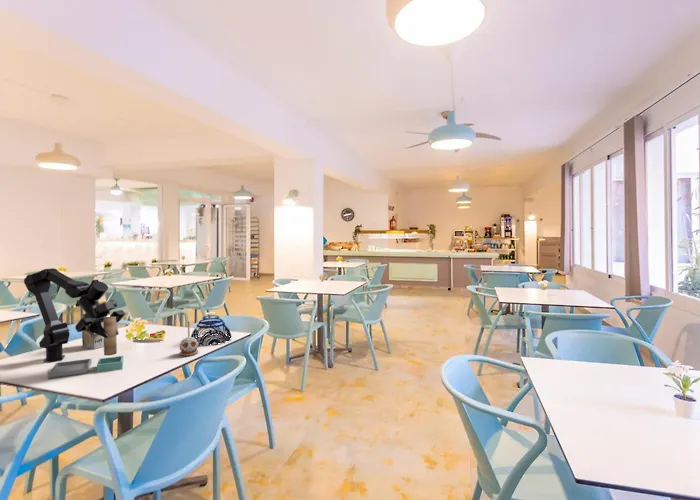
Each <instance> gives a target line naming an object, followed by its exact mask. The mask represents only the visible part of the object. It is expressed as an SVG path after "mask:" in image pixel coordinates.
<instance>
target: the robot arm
mask: <svg viewBox="0 0 700 500" xmlns="http://www.w3.org/2000/svg"><path fill="white" fill-rule="evenodd" d="M51 282H52V283H53V284H55V285H57V286H59V287H61V288H62V289H63V290H64V292H65V294H66V295H67V296H68V297H70V298H71V299H76V303H75V307H76V308H77V307H78V308H79V307H81V308H82V309H83V311H84V315H85V317H86V316H88V317H86V318H82V317H81V318H80V320H78V322H76V323H77V324H76V325H75V326H74V327H75V328H74V329H75V330H76V332H77V333H82V331H85V329H86V327H85V326H88V329H87V331H90V332H93V333H96V334H98V335H100V336H103V337H105V338H108V335H107V333H106V331H105V330H104V328H103V327H102V325H101V322H103V318H105V317H116V336H118V335H119V334H120V333H119V328H118V323H119V322H120V321H122V319H123V318H124V316H125V315H126V312H124V310H123V309H122V310H121V309H118V310H115V309H116V307H117V306H118V303H117V301H116V300H115V299H110V300H109V301H105V302H103V303H99V300H100V299H102V297H103V296H104V295H105V294H106V292H107V291H108V290H109V287H108V284H106V283H105V282H102V281H100V280H99V279H92V280H91V282H90V284H89V283H88V282H85V281H83V280H82V281H81V280H75V279H73V278H71V277H69V276H68V275H66V274H64V273H62V272H60V271H58V269H57V268H44V269H42V270H40V271H38V272H34V273H31V274H28V275H26V277H25V278H24V279H23V284H24V286H25V287H26V288H27V291H28V292H30V293H31V294H33V295H34V297H35V300H36V303H37V306H38V308H39V311H40V314H41V317H42V320H43V321H44V325H45V326H44V329H43V332H42V334H43V337H42V339H41V340H40V341H39V347H40V348H41V349H45V359H43V363H48V362H57V361H58V362H59V361H63V359H64V358H65V356H66V355H65V354H63V345H65V344H68V343H69V339H70V334H71V333H70V329H69V327H68V324H67V323H66V322H61V321H60V319H59V317H58V313H57V311H56V308H55V305H54V302H53V299H52V297H51V294H50V291H49V290H50V287H51V284H52V283H51ZM77 298H79V299H77ZM112 310H114V311H113V312H112V313H111V311H112ZM110 313H111V314H110Z"/></svg>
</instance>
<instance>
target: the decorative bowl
mask: <svg viewBox="0 0 700 500" xmlns="http://www.w3.org/2000/svg"><path fill="white" fill-rule="evenodd" d="M205 314H206V315H205V316H202V319H200V320H199V321H198V323H197V324H196V328H194V330H193V331H192V333H191V335H190V337H192V338H193V337H194V338H195V339H196V340H197V342H198V345H210V344H212V345H214V343H215V344H216V345H217V344H218V343H222V342H223V343H224V341H228V340H229V339H230V338H231V337H232V333H231V330H230V329H229V328H228V326H227V325H226V322H225V321H224V320H223V319H221V318H220V315H216V314H217V312H215V311H211V312H210V311H209V312H206V313H205ZM220 327H222V329H221V328H220ZM197 328H198V329H197ZM206 334H207V335H206ZM212 334H213V336H210V335H212ZM214 334H215V335H214ZM217 334H218V335H217ZM226 334H227V336H226ZM201 335H203V336H202V337H201ZM205 335H206V336H205ZM198 336H200V338H199V337H198ZM204 336H205V337H204ZM229 336H230V337H229ZM196 337H197V338H196Z"/></svg>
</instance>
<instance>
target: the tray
mask: <svg viewBox="0 0 700 500" xmlns="http://www.w3.org/2000/svg"><path fill="white" fill-rule="evenodd" d="M92 364H93V363H92V358H84V359H78V360H77V359H75V360H69V361H60V362H59V361H58V362H56V363H55V364H54V365H53V367H52V368H51V370H50V371H49V372H48V376H47V377H48V380H52V379H58V378H65V377H66V378H68V377H73V376H80V375H88V372H89V369H90V367H91V365H92Z"/></svg>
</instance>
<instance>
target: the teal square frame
mask: <svg viewBox="0 0 700 500" xmlns="http://www.w3.org/2000/svg"><path fill="white" fill-rule="evenodd" d="M123 367H124V355H120V356H119V355H118V356H112V357H111V356H110V357H104V358H103V357H102V358H99V359H98V361H97V364H96V373H103V372H109V371H117V370H118V371H119V370H122V369H123Z"/></svg>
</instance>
